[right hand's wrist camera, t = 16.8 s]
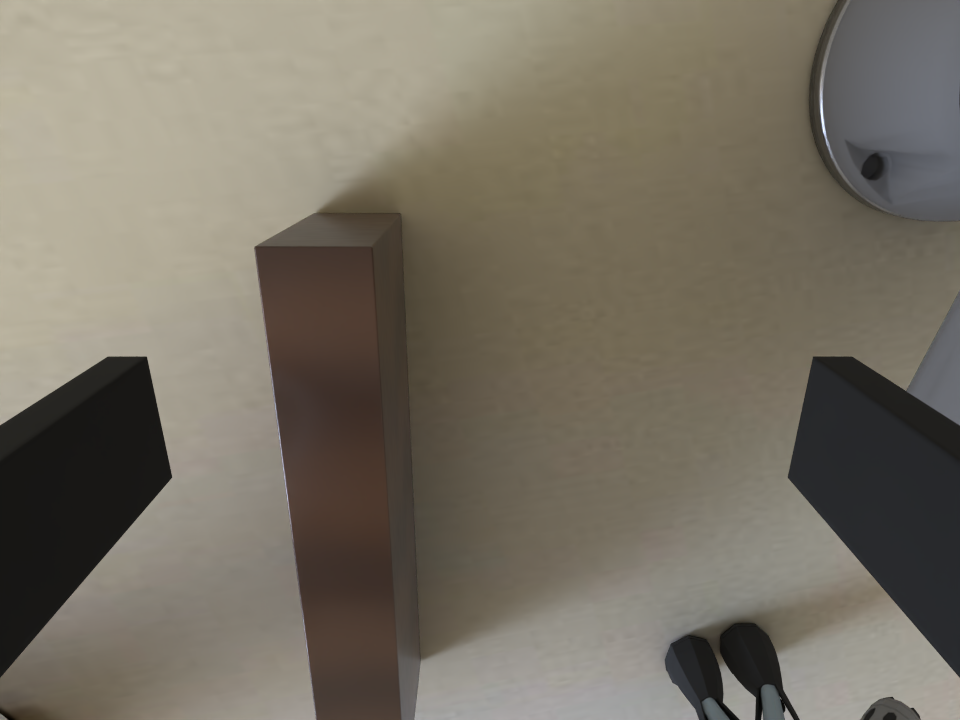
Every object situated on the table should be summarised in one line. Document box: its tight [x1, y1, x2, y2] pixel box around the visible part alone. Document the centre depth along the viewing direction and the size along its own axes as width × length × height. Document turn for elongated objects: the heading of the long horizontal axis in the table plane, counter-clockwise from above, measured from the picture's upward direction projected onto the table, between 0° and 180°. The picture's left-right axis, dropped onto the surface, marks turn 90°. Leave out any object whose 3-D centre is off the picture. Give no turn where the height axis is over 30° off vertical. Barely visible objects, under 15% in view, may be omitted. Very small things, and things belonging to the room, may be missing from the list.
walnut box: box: [254, 213, 420, 720], centre depth 37 cm, size 34×5×10 cm, turn 0°
